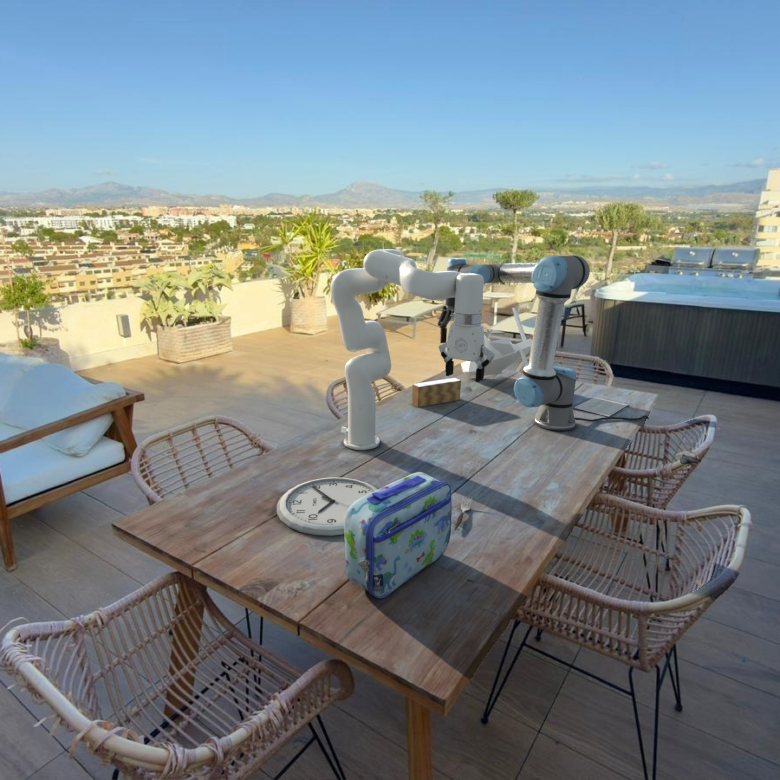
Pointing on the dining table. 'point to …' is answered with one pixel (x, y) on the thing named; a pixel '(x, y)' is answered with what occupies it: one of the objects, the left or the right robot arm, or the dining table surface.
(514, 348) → the white plastic object
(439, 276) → the left robot arm
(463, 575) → the dining table surface
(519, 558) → the dining table surface
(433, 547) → the lunch box
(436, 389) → the bar
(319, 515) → the wall clock
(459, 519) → the fork
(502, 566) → the dining table surface
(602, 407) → the invitation card
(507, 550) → the dining table surface
